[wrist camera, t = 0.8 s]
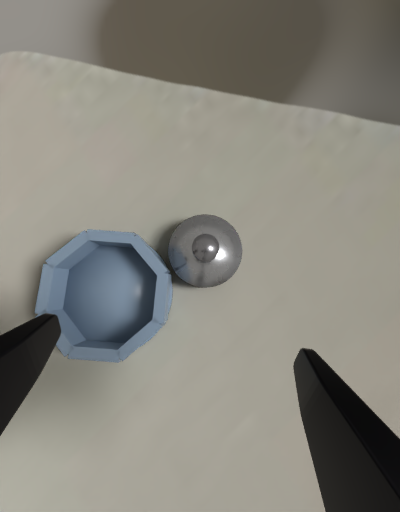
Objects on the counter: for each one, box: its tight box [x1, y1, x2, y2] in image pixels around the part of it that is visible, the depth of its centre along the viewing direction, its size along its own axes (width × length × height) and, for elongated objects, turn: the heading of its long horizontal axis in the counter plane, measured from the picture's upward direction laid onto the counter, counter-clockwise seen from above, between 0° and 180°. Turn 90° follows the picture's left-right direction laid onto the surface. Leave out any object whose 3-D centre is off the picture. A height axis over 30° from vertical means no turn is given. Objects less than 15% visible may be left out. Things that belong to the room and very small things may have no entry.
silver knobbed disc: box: [168, 214, 242, 288], centre depth 22 cm, size 7×7×4 cm
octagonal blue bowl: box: [35, 229, 173, 363], centre depth 21 cm, size 12×12×3 cm
